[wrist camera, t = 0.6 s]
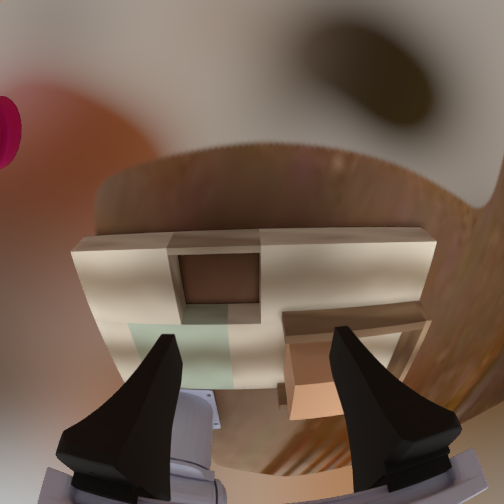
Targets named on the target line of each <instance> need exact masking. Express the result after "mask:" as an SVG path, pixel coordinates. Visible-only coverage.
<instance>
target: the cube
mask: <svg viewBox="0 0 504 504" xmlns="http://www.w3.org/2000/svg"><path fill="white" fill-rule="evenodd" d="M331 344H332V341H322V342H310V343H295V344H286V352H285V363H284V380H285V388H286V396H287V404H288V412H289V420H300V419H310V418H319V417H327V416H334V415H341V414H344V412H343V409H342V406H341V402H340V399H339V396H338V393H337V390H336V386H335V383H334V380H333V377H332V372H331V367H330V361H329V353H330V349H331Z"/></svg>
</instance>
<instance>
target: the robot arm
mask: <svg viewBox="0 0 504 504" xmlns="http://www.w3.org/2000/svg"><path fill="white" fill-rule="evenodd" d="M329 361H330V367H331V372H332V377H333V380H334V383H335V386H336V390H337V393H338V396H339V399H340V402H341V406H342V409H343V412H344V416H345V420H346V425H347V431H348V437H349V443H350V451H351V459H352V468H353V485H354V493H353V494H347V495H343V496H337V497H332V498H326V499H320V500H314V501H306V502H298V503H288V504H461V503H463V502H465V501H467V500H469V499H470V498H472V497H474V496H475V495H477V494H479V493H480V492H482V491H484V490H485V489H487V488H488V484H487V481H486V478H485V475H484V473H483V470H482V467H481V465H480V462H479V460H478V457H477V455H476V452H475V450H474V448H470V449H468V450H466V451H464V452H461V453H459V454H457V455H455V456H453V457H452V458H450V459H449V457H448V454H449V453H450V449H449V447H448V446H449V445H450V443H452V442H453V441H454V440H455V439H456V438H457V437H458V436H459V434H460V433H461V430H462V428H461V425H460V422H459V420H458V418H457V416H456V414H455V413H454V412H452V411H450V410H448V409H445V408H443V407H441V406H439V405H437V404H435V403H433V402H431V401H429V400H427V399H426V398H424V397H422V396H421V395H419V394H418V393H416V392H415V391H413V390H412V389H410V388H409V387H408V386H406V385H405V384H404V383H402V382H401V381H400V380H399V379H397V378H396V377H395V376H394V375H393V374H392V373H391V372H389V371H388V370H387V369H386V368H385V367H384V366H383V365H382V364H381V363H380V362H379V361H378V360H377V359H376V358H375V357H374V355H373V354H372V353H371V352H370V351H369V350H368V349H367V348H366V347H365V346H364V344H363V343H362V342H361V341H360V340H359V338H358V337H357V336H356V335H355V334H354V332H353V331H352V330H351V329H350V328H349V327H348V326H339V327H335V329H334V334H333V339H332V344H331V349H330V353H329ZM182 370H183V361H182V358H181V355H180V351H179V348H178V344H177V341H176V337H175V334H161V335H160V337H159V338H158V340H157V341H156V343H155V344H154V345H153V347H152V348H151V350H150V351H149V353H148V354H147V356H146V357H145V358H144V360H143V361H142V362H141V364H140V365H139V366H138V368H137V369H136V370H135V371H134V373H133V374H132V375H131V376H130V377H129V379H128V380H127V381H126V382H125V383H124V385H123V386H122V387H121V388H120V389H119V390H118V391H117V392H116V393H115V394H114V395H113V396H112V397H111V398H110V399H108V401H106V402H105V403H104V404H103V405H102V406H101V407H99V408H98V409H97V410H96V411H94V412H93V413H91V415H89V416H87V417H86V418H85V419H83V420H82V421H80V422H78V423H77V424H75V425H73V426H71V427H70V428H68V429H66V430H64V431H63V433H62V436H61V438H60V441H59V445H58V448H57V451H56V456H57V458H58V459H59V460H60V461H61V462H62V463H64V464H65V465H66V466H67V467H69V468H70V469H71V470H73V471H74V475H73V477H72V476H71V475H69V474H66V473H63V472H60V471H58V470H55V469H52V468H50V467H48V468H47V471H46V474H45V477H44V481H43V484H42V488H41V492H40V496H39V500H38V504H227V495H226V490H225V487H224V486H223V484H222V483H221V481H220V480H219V479H214V471H211V470H210V466H211V457H212V438H213V429H220V428H221V424H220V419H219V415H218V410H217V406H216V401H215V397H214V392H213V389H189V388H180V387H181V381H182Z"/></svg>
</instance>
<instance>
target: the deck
mask: <svg viewBox="0 0 504 504" xmlns="http://www.w3.org/2000/svg"><path fill="white" fill-rule="evenodd" d="M436 243H437V241H436V240H435V239H434V238H432V237H431V236H430V235H429V234H428V233H427V232H426V231H425V230H424V229H423V228H421V227H330V228H273V229H236V230H206V231H180V232H157V233H136V234H117V235H99V236H85V237H84V238H83V239H82V240H81V241H80V242H79V243H78V244H77V246H76V247H75V248H74V249H73V250H72V251H71V255H72V258H73V261H74V264H75V267H76V270H77V273H78V276H79V279H80V282H81V285H82V288H83V290H84V293H85V296H86V298H87V301H88V304H89V306H90V309H91V311H92V313H93V316H94V319H95V321H96V323H97V326H98V328H99V330H100V333H101V335H102V337H103V340H104V342H105V344H106V346H107V348H108V350H109V353H110V355H111V357H112V359H113V361H114V363H115V365H116V367H117V369H118V371H119V373H120V375H121V377H122V378H123V381H124V382H126V381H127V380H128V379H129V377H130V376H131V375H132V374H133V373H134V371H135V370H136V369H137V368H138V366H139V365H140V364H141V362H142V361H143V360H144V358H145V357H146V356H147V354H148V353H149V351H150V350H151V348H152V347H153V345H154V344H155V343H156V341H157V340H158V338H159V337H160V335H161V334H175V337H176V341H177V344H178V348H179V351H180V355H181V358H182V361H183V370H182V381H181V387H180V388H189V389H261V388H277V383H285V380H284V363H285V352H286V344H285V340H284V333H283V327H282V320H281V319H282V312H285V311H305V310H321V309H335V308H348V307H361V306H372V305H382V304H392V303H401V302H410V301H419V299H420V296H421V293H422V290H423V287H424V284H425V281H426V278H427V275H428V271H429V268H430V265H431V261H432V258H433V254H434V250H435V247H436ZM230 253H259V294H260V303H237V304H186V301H185V296H184V290H183V285H182V279H181V273H180V267H179V261H178V255H194V254H230ZM401 333H402V332H399V333H392V334H385V335H378V336H370V337H362V338H359V340H360V341H361V342H362V343H363V344H364V346H365V347H366V348H367V349H368V350H369V351H370V352H371V353H372V354H373V355H374V357H375V358H376V359H377V360H378V361H379V362H380V363H381V364H382V365H383V366H384V367H385V368H386V369H387V366H388V364H389V362H390V360H391V357H392V355H393V353H394V350H395V348H396V345H397V343H398V341H399V338H400V336H401Z"/></svg>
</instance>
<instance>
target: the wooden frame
mask: <svg viewBox="0 0 504 504" xmlns="http://www.w3.org/2000/svg"><path fill="white" fill-rule="evenodd" d="M281 320H282V327H283V333H284V340H285V344H295V343H310V342H322V341H332V339H333V334H334V329H335V327H339V326H348V327H349V328H350V329H351V330H352V331H353V332H354V334H355V335H356V336H357V337H358V338H362V337H370V336H378V335H385V334H392V333H399V332H402V333H401V336H400V338H399V341H398V343H397V345H396V348H395V350H394V353H393V355H392V357H391V360H390V362H389V364H388V366H387V370H388V371H389V372H391V373H392V374H393V375H394V376H395V377H396V378H397V379H399V380H400V381H401V382H403V380H404V378H405V376H406V374H407V372H408V370H409V369H410V367H411V365H412V363H413V361H414V359H415V357H416V355H417V353H418V350H419V348H420V346H421V344H422V342H423V340H424V338H425V335H426V333H427V331H428V329H429V326H430V324H431V322H432V319H431V317H430V316H429V314H428V313H427V311H426V310H425V308H424V307H423V306H422V304H421V303H420V301H410V302H401V303H392V304H382V305H372V306H361V307H348V308H335V309H321V310H305V311H285V312H282V319H281ZM277 394H278V404H279V409H288V404H287V396H286V388H285V383H277Z"/></svg>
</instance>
